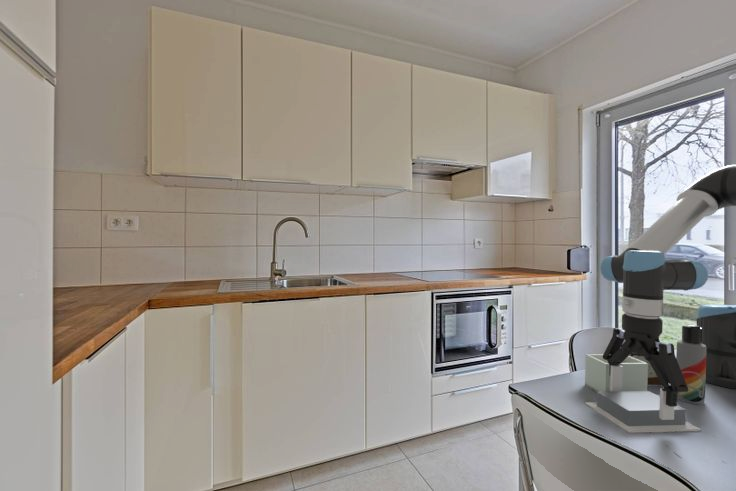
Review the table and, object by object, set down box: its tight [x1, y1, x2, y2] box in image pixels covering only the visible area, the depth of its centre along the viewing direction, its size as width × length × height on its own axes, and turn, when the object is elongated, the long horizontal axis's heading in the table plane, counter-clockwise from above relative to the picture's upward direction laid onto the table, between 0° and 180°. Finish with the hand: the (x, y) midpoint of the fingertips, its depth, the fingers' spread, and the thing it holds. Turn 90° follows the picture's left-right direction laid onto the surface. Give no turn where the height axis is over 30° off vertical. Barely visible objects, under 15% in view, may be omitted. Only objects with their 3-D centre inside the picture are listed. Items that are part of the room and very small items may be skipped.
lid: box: [596, 390, 687, 426], centre depth 80 cm, size 14×9×4 cm
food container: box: [629, 352, 663, 387], centre depth 101 cm, size 12×6×10 cm, turn 84°
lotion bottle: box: [675, 324, 706, 405], centre depth 89 cm, size 6×6×20 cm
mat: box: [585, 401, 701, 434], centre depth 80 cm, size 17×13×1 cm
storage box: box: [584, 353, 648, 393], centre depth 94 cm, size 12×8×9 cm, turn 94°
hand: (639, 403), depth 80 cm, fingers open, 13 cm apart
